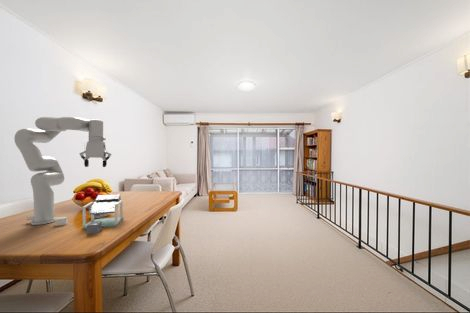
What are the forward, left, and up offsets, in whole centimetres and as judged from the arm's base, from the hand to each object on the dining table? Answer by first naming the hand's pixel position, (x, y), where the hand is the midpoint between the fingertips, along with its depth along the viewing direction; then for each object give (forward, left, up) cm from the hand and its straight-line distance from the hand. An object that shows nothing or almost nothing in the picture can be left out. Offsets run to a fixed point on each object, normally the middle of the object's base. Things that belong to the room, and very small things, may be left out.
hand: (95, 166), depth 128 cm
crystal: (-3, +15, -36) cm, 39 cm away
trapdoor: (+5, +2, -27) cm, 27 cm away
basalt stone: (+5, -20, -33) cm, 39 cm away
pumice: (-20, +2, -35) cm, 41 cm away
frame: (+5, -3, -35) cm, 36 cm away
